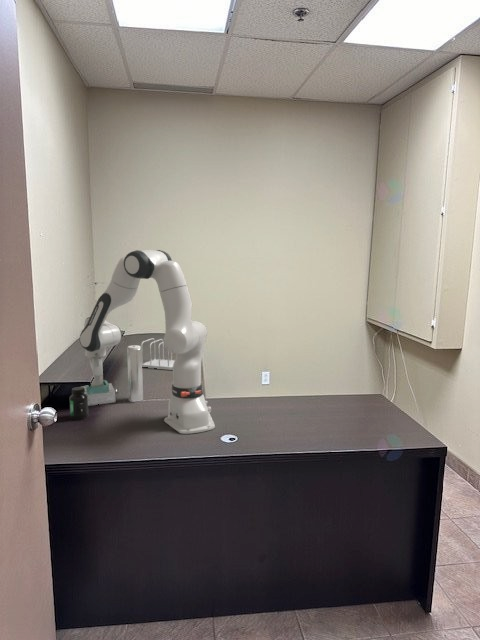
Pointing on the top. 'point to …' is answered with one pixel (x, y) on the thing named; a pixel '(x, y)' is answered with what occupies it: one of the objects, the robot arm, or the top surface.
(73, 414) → the supplement bottle
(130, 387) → the silver metal cylinder
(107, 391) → the motor housing
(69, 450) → the top surface
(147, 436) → the top surface
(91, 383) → the pump block
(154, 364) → the file sorter
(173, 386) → the robot arm
